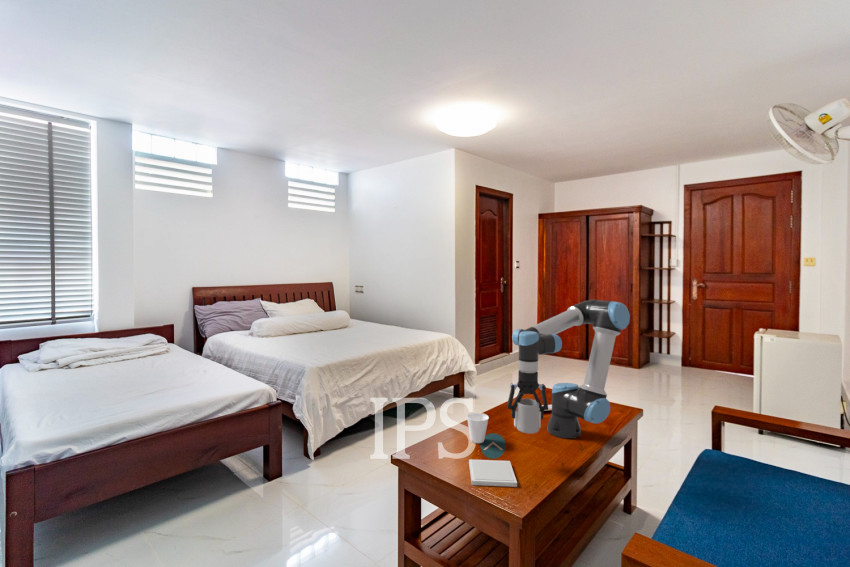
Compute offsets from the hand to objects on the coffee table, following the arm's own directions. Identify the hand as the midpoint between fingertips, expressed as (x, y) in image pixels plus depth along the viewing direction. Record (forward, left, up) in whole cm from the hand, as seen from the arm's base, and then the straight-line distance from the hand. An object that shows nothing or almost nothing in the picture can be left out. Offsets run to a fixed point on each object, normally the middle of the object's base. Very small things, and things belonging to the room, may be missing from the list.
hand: (527, 426), depth 163 cm
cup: (+18, -17, -14) cm, 29 cm away
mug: (-1, 0, -1) cm, 1 cm away
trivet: (+15, +12, -14) cm, 24 cm away
